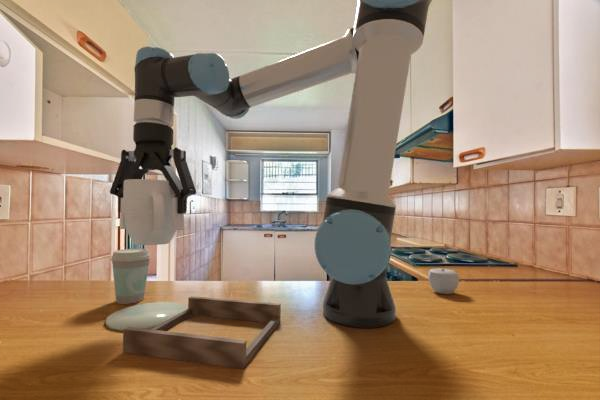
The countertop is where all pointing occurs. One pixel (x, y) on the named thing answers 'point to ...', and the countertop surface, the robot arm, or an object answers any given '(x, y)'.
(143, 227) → the mug
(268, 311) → the frame
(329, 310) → the robot arm
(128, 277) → the coffee cup
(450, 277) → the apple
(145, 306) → the trivet
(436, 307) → the countertop surface
